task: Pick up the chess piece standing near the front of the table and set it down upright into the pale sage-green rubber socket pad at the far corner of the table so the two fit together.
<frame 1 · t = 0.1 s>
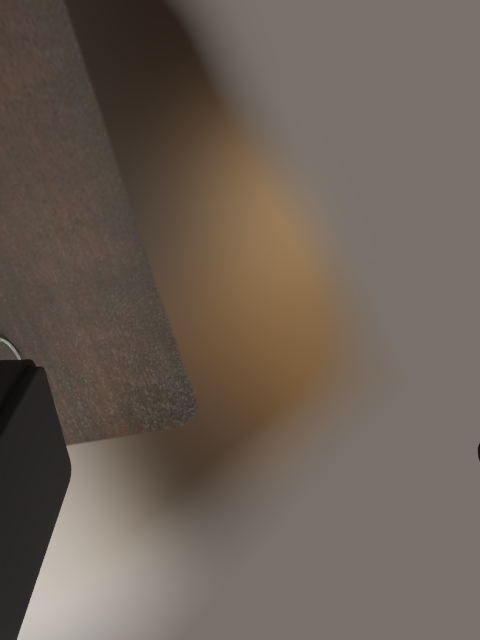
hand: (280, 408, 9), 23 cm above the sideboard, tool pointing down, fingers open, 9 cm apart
headphones: (11, 342, 35), on the sideboard
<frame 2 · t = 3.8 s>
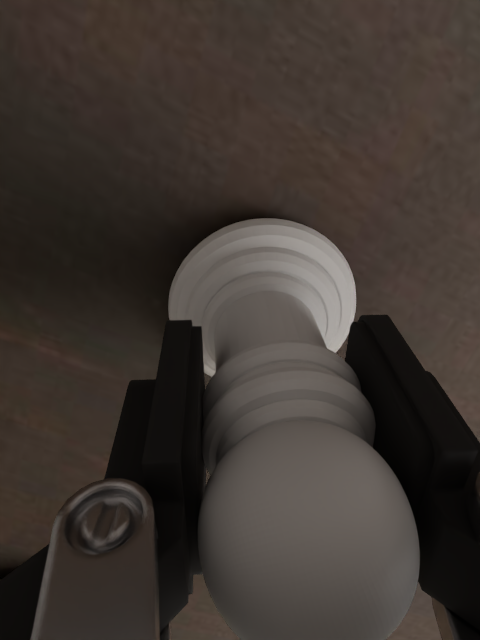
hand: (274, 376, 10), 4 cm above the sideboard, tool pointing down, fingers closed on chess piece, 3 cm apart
chess piece: (260, 298, 13), on the sideboard, touching gripper
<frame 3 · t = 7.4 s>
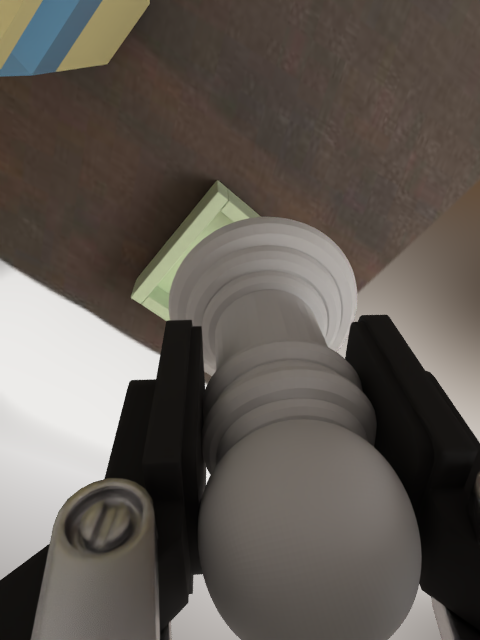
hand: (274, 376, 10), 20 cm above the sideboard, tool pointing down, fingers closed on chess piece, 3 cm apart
chess piece: (260, 297, 13), point 16 cm above the sideboard, touching gripper
socket pad: (226, 271, 30), on the sideboard
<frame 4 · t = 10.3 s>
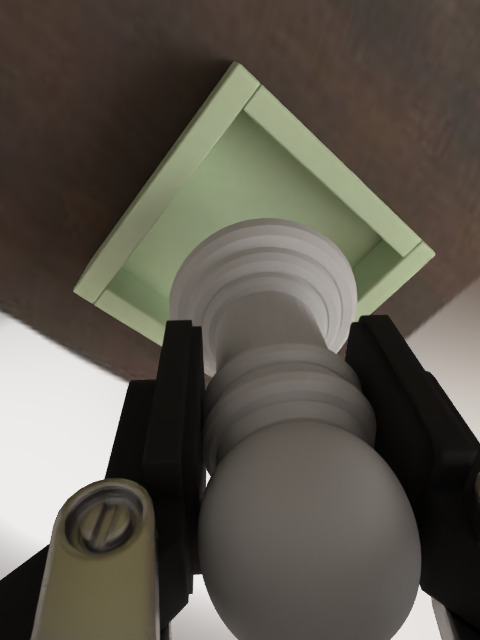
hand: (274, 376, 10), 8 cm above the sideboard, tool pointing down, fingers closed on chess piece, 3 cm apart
chess piece: (261, 298, 13), point 4 cm above the sideboard, touching gripper
socket pad: (249, 244, 17), on the sideboard
when the fingers open (4 cm above the sideboard, at t = 11.6 s): chess piece stays where it is, resting on socket pad.
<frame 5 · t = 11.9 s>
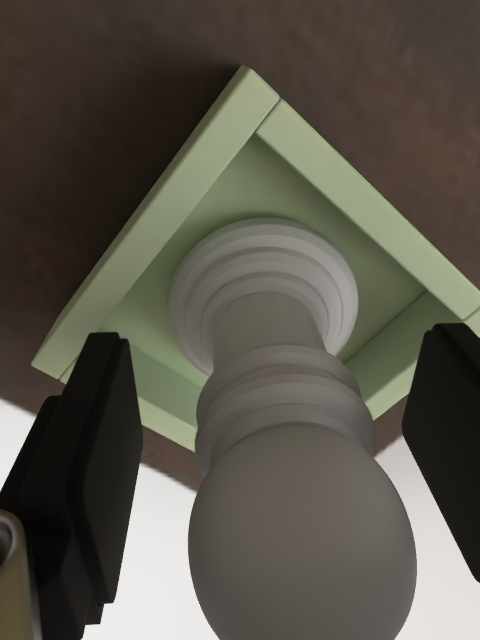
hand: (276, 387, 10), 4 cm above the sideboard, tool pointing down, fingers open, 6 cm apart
chess piece: (260, 298, 13), resting on socket pad
socket pad: (258, 294, 14), on the sideboard
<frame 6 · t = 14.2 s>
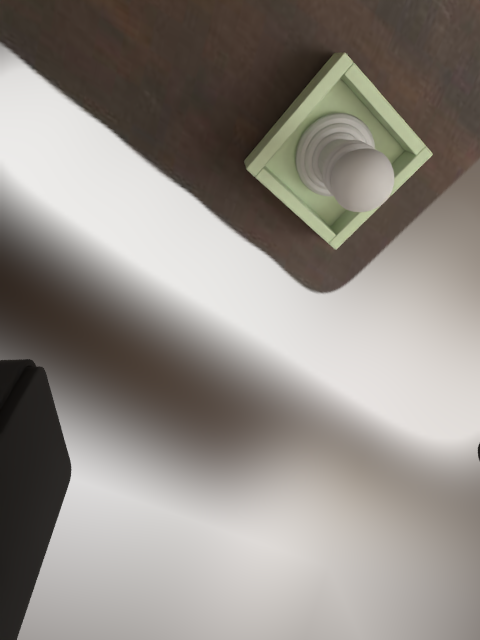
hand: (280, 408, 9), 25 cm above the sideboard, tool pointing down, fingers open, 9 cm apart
chess piece: (332, 154, 31), resting on socket pad
socket pad: (330, 154, 31), on the sideboard
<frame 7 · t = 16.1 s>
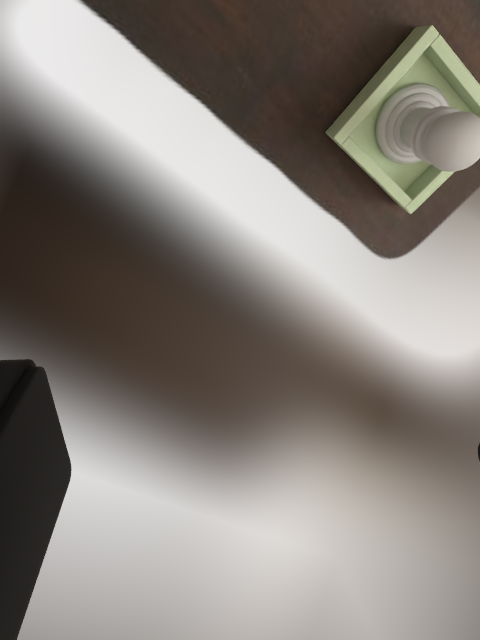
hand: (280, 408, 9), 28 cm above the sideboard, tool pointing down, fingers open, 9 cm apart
chess piece: (409, 123, 33), resting on socket pad
socket pad: (406, 124, 33), on the sideboard
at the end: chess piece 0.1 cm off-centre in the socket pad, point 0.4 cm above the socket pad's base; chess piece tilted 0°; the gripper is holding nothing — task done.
